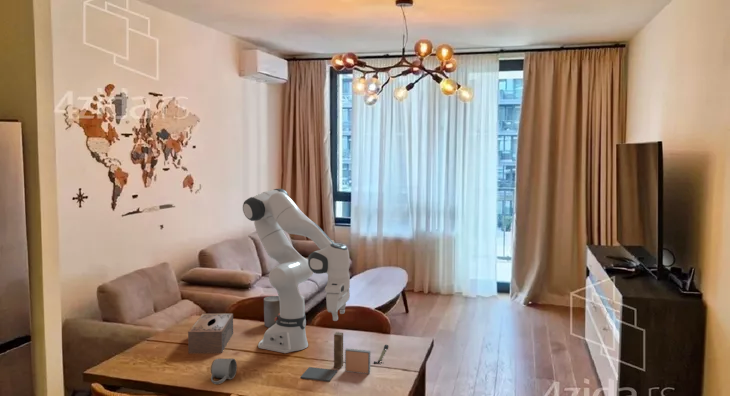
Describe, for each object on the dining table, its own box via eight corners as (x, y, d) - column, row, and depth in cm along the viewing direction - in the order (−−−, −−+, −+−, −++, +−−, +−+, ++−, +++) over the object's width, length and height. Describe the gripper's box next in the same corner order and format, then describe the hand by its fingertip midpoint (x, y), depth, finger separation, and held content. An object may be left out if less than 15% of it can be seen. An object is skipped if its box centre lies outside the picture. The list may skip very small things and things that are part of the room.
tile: (345, 371, 230) (345, 350, 229) (346, 369, 231) (346, 348, 230) (369, 374, 227) (369, 352, 226) (370, 372, 229) (370, 350, 228)
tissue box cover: (222, 353, 248) (221, 331, 247) (188, 354, 248) (188, 331, 247) (233, 333, 274) (232, 313, 273) (203, 333, 273) (202, 313, 272)
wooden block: (334, 367, 233) (334, 334, 232) (336, 364, 236) (336, 332, 235) (341, 368, 233) (341, 335, 231) (343, 365, 236) (343, 332, 234)
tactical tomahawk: (388, 367, 236) (388, 365, 236) (373, 364, 238) (373, 362, 238) (398, 349, 256) (398, 346, 256) (383, 346, 258) (383, 344, 258)
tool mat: (300, 378, 223) (300, 376, 223) (309, 368, 232) (309, 366, 232) (329, 381, 220) (329, 380, 220) (337, 371, 229) (337, 370, 229)
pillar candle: (286, 322, 290) (285, 293, 289) (279, 328, 281) (278, 298, 279) (268, 321, 292) (267, 292, 291) (260, 327, 283) (260, 297, 281)
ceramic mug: (218, 372, 228) (217, 354, 227) (237, 374, 226) (236, 355, 225) (205, 384, 217) (205, 364, 216) (225, 386, 216) (225, 366, 215)
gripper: (338, 277, 242) (338, 308, 243) (323, 289, 222) (323, 323, 223) (353, 278, 240) (353, 310, 242) (339, 290, 220) (339, 325, 222)
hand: (338, 316), depth 232 cm, fingers open, 8 cm apart
